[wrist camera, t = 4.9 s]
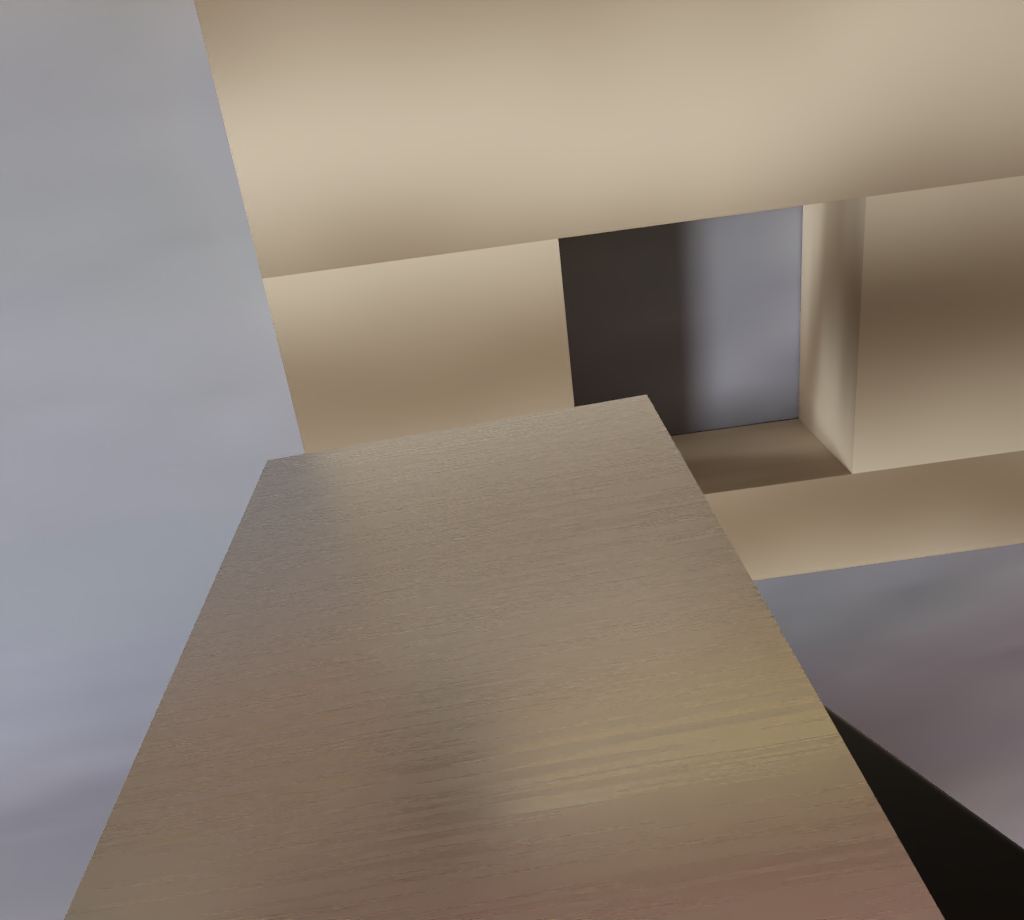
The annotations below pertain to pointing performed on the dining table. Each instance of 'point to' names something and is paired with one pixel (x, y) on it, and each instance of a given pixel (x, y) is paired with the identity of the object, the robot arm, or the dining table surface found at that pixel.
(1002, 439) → the socket block
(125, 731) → the dining table surface
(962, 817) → the robot arm
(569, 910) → the peg
